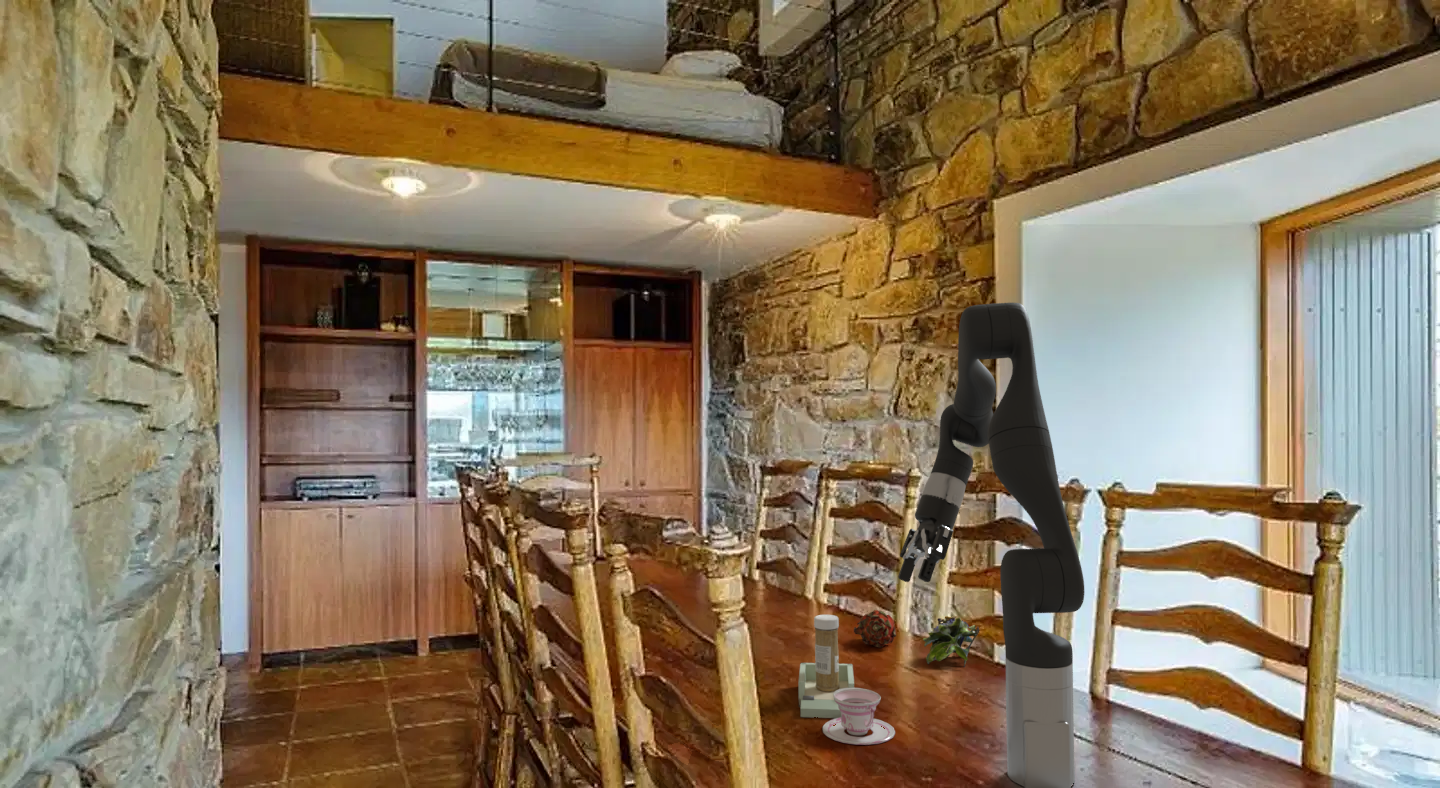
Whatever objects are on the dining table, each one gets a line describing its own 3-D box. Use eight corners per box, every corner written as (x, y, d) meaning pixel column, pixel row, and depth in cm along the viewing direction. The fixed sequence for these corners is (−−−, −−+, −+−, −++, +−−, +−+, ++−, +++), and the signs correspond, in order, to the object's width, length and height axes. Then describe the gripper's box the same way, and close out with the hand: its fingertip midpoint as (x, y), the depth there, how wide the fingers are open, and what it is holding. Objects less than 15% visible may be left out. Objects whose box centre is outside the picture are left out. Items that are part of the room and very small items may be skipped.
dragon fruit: (884, 660, 192) (865, 653, 204) (911, 635, 194) (892, 629, 206) (860, 629, 192) (843, 624, 204) (888, 604, 194) (869, 600, 206)
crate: (855, 718, 152) (855, 692, 152) (797, 716, 153) (797, 691, 153) (852, 687, 169) (852, 664, 169) (800, 685, 170) (800, 662, 170)
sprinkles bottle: (844, 689, 163) (843, 617, 163) (825, 694, 161) (824, 620, 161) (828, 683, 167) (827, 612, 167) (810, 687, 165) (809, 615, 165)
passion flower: (946, 682, 189) (966, 631, 193) (978, 687, 179) (998, 633, 183) (906, 656, 187) (927, 605, 191) (937, 659, 177) (958, 606, 181)
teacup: (809, 726, 149) (809, 689, 150) (869, 715, 154) (868, 680, 154) (846, 751, 138) (845, 712, 138) (909, 739, 143) (909, 701, 143)
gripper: (907, 496, 174) (880, 572, 170) (941, 489, 161) (912, 571, 156) (940, 512, 175) (913, 588, 170) (976, 506, 162) (948, 588, 157)
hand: (913, 580), depth 163 cm, fingers open, 8 cm apart
